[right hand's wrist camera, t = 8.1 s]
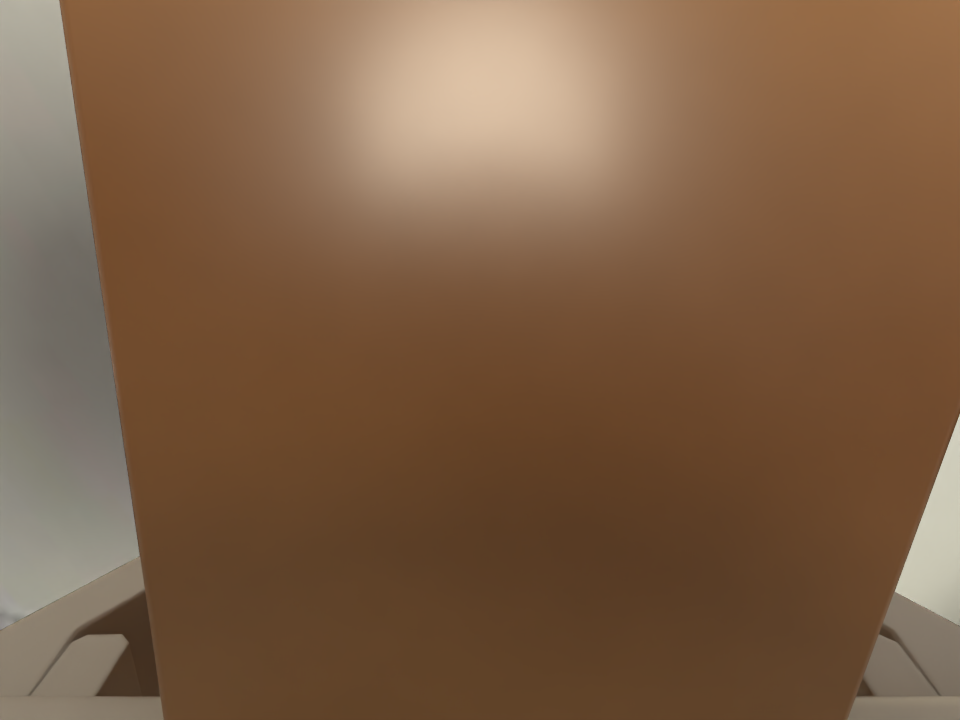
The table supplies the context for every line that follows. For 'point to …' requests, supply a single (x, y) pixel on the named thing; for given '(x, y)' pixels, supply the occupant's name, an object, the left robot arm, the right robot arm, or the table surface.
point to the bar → (523, 344)
